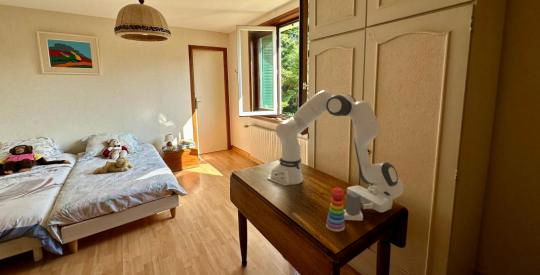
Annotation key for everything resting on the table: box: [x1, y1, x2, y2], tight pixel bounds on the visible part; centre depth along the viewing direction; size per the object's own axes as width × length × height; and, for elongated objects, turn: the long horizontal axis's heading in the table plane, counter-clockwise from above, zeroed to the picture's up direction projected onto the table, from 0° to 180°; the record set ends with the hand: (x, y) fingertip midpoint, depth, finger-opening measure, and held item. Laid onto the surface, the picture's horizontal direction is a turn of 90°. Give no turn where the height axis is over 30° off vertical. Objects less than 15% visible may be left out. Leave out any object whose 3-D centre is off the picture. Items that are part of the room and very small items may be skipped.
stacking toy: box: [325, 187, 346, 232], centre depth 106 cm, size 8×8×19 cm
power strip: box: [344, 208, 364, 221], centre depth 114 cm, size 11×5×4 cm, turn 83°
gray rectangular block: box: [345, 191, 361, 216], centre depth 112 cm, size 4×4×11 cm
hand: (354, 202), depth 112 cm, fingers open, 8 cm apart
